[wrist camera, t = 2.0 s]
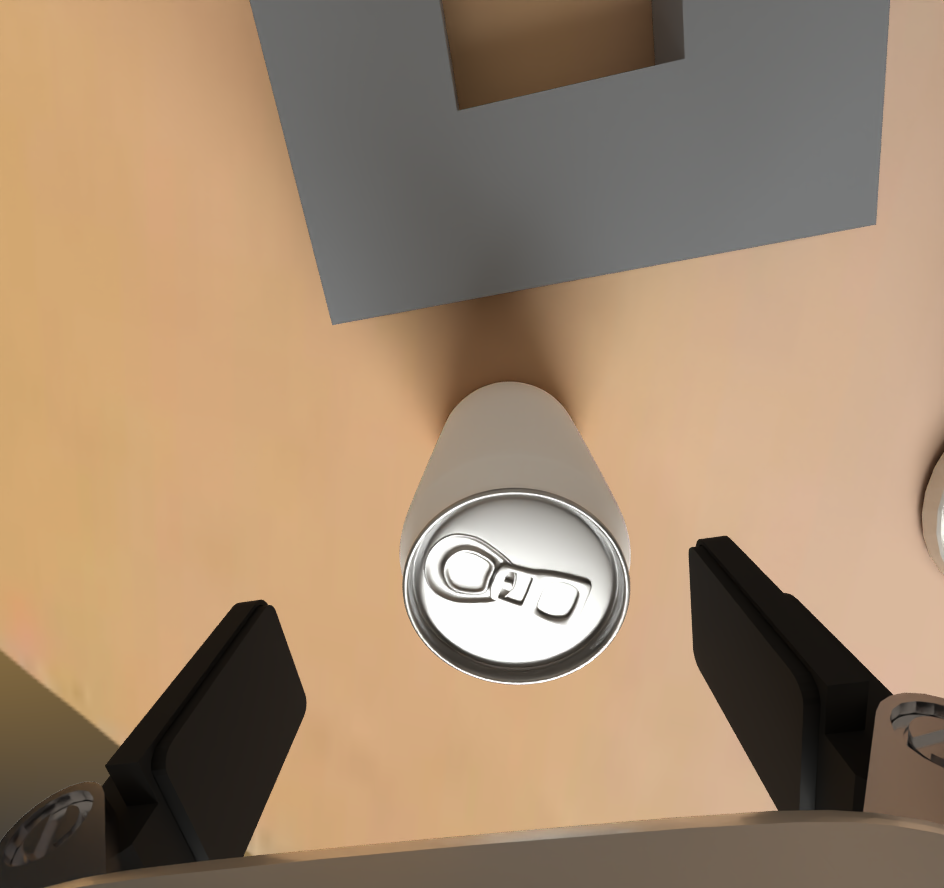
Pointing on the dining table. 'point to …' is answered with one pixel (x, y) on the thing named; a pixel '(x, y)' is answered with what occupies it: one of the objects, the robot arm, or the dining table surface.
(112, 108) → the dining table surface
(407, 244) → the socket block
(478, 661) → the can
